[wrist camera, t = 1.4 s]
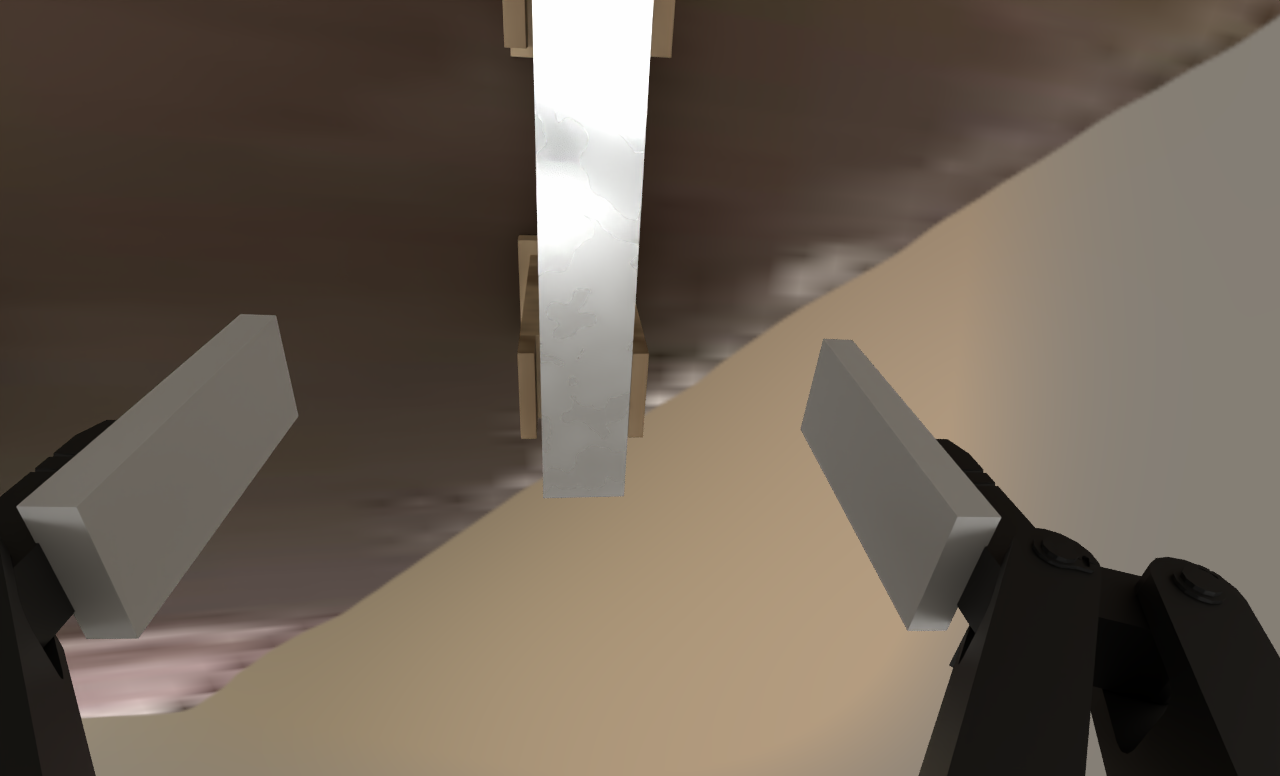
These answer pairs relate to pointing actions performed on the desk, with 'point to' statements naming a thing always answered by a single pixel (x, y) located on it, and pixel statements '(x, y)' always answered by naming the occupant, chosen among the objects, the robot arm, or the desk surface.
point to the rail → (588, 231)
